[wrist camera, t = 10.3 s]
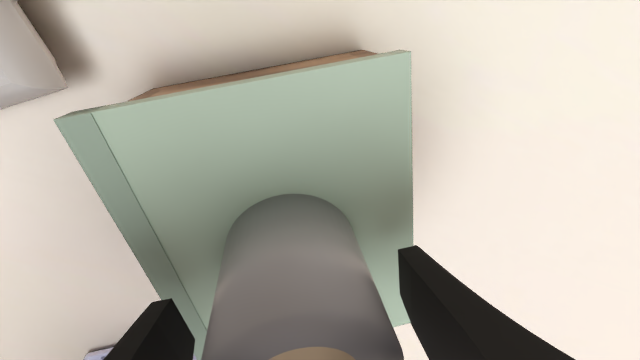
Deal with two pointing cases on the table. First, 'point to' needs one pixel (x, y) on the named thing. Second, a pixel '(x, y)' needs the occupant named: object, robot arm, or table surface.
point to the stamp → (24, 59)
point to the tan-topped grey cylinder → (296, 289)
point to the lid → (254, 168)
